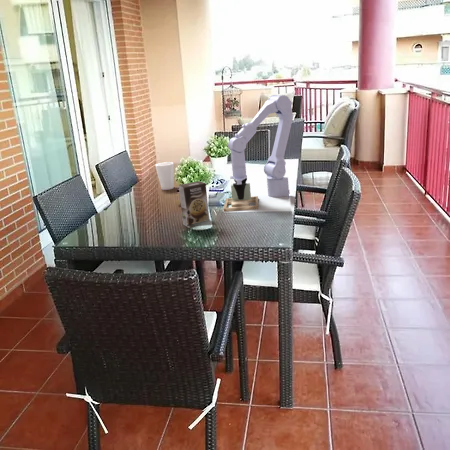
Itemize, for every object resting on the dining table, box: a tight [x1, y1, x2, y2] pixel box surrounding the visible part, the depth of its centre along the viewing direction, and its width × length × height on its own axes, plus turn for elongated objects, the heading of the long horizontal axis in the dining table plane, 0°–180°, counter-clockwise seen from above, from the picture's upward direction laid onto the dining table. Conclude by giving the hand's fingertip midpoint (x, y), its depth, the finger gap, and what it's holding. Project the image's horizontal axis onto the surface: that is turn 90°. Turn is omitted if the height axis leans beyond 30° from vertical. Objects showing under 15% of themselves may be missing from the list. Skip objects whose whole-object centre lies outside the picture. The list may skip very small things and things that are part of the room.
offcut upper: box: [231, 201, 250, 207], centre depth 199 cm, size 7×4×2 cm, turn 91°
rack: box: [222, 195, 259, 212], centre depth 203 cm, size 14×16×2 cm
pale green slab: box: [230, 182, 252, 201], centre depth 207 cm, size 8×2×9 cm, turn 86°
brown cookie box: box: [178, 181, 210, 229], centre depth 186 cm, size 9×6×16 cm
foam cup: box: [155, 161, 175, 191], centre depth 250 cm, size 10×9×13 cm
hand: (241, 196), depth 207 cm, fingers open, 7 cm apart
